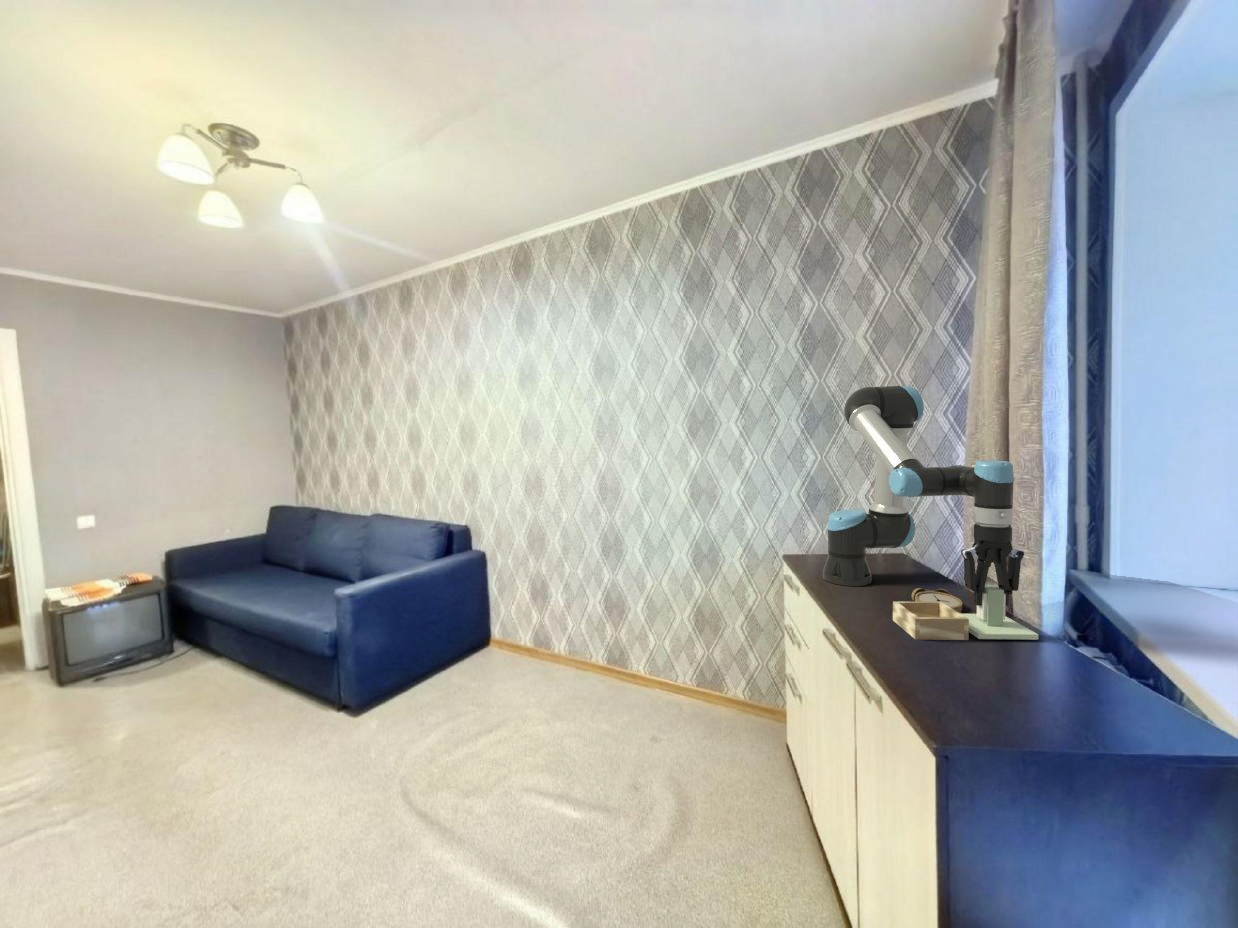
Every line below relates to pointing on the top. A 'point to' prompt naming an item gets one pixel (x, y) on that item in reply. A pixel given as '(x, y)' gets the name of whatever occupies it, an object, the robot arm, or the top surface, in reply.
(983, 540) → the robot arm
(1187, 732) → the top surface
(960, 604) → the alarm clock
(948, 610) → the box
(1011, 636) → the lid
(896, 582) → the top surface
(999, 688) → the top surface
